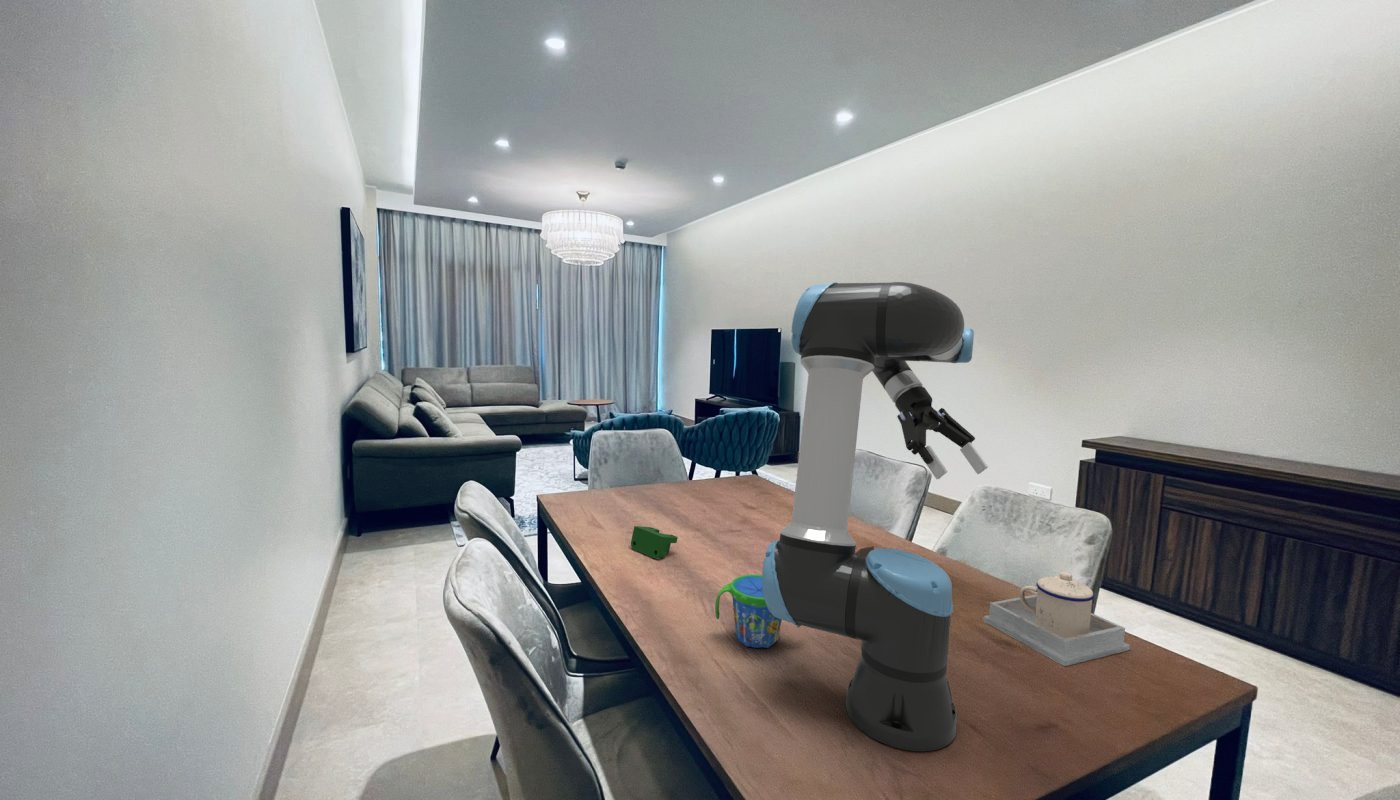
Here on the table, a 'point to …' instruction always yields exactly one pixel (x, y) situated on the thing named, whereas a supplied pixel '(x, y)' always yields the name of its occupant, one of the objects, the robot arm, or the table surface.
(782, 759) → the table surface
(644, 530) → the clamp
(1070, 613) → the teacup with lid
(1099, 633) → the rectangular tray
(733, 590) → the snack cup
